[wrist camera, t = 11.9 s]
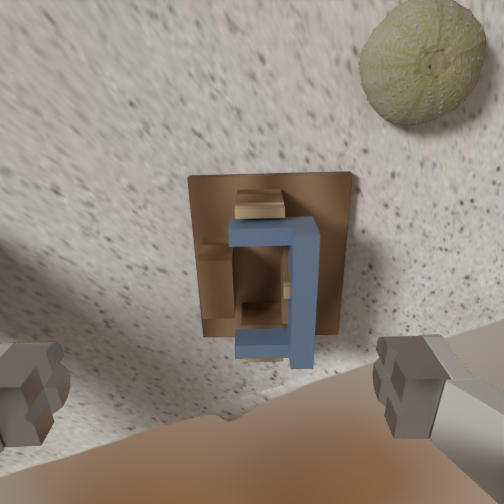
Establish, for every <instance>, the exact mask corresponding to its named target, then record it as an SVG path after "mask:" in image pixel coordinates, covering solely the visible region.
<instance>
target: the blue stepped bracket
mask: <svg viewBox="0 0 504 504" xmlns="http://www.w3.org/2000/svg"><path fill="white" fill-rule="evenodd" d="M228 237H229V247H241V246H284V245H289V248H288V271H289V277H290V299H288V310H287V328H271V329H236V335H235V358H236V359H250V358H289V360H290V368H291V369H313V360H314V342H315V324H316V306H317V288H318V269H319V251H320V233H319V230H318V228H317V225H316V223H315V220H314V218H313V216H303V217H285V218H251V219H235V218H230V220H229V227H228Z"/></svg>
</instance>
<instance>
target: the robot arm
mask: <svg viewBox="0 0 504 504" xmlns="http://www.w3.org/2000/svg"><path fill="white" fill-rule="evenodd" d="M376 351H377V353H378V355H379V357H380V358H379V359H378V360H377V361H376V362H375V363H374V366H373V385H374V390H375V393H376V396H377V398H378V401H379V402H381V403H382V404H383V405H384V406H386V408H385V414H384V416H385V418H386V421H387V423H388V426H389V428H390V430H391V433H392V435H393V438H408V439H409V438H410V439H412V438H413V439H418V438H419V439H430V441H431V442H432V443H433V444H434V445H435V446H436V447H437V448H438V449H440V450H441V451H442V452H443V453H444V454H445V455H446V456H447V457H448V458H449V459H450V460H451V461H453V462H454V463H455V464H456V465H457V466H458V467H459V468H460V469H461V470H462V471H463V472H464V473H466V474H467V475H468V476H469V477H470V478H471V479H472V480H473V481H474V482H475V483H476V484H478V485H479V486H480V487H481V488H482V489H483V490H484V491H485V492H486V493H487V494H488V495H490V496H491V497H492V498H493V499H494V500H495V501H496V502H497V503H498V504H504V392H503V391H502V390H500V389H498V388H497V387H495V386H493V385H491V384H489V383H487V382H486V381H484V380H482V379H475V378H474V377H473V375H472V374H471V373H470V372H469V370H468V369H467V368H466V366H464V364H463V362H462V361H461V360H460V358H459V357H458V356H457V355H456V353H455V352H454V351H453V349H452V348H451V347H450V345H449V344H448V343H447V341H446V340H445V339H444V338H443V337H442V336H441V335H439V334H435V335H419V336H391V337H379V339H378V341H377V346H376ZM63 356H64V353H63V350H62V347H61V345H60V344H58V343H56V342H17V343H15V342H0V453H1V452H2V451H3V450H4V447H22V446H41V445H42V443H43V441H44V440H45V438H46V436H47V434H48V432H49V431H50V429H51V427H52V425H53V423H54V419H53V416H52V414H54V413H55V412H56V411H58V410H59V409H60V408H62V407H63V405H64V403H65V401H66V399H67V398H68V393H69V389H70V375H69V371H68V369H67V368H66V367H65V366H64V365H63V364H62V363H60V361H61V360H62V358H63Z"/></svg>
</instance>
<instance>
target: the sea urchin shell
mask: <svg viewBox="0 0 504 504" xmlns="http://www.w3.org/2000/svg"><path fill="white" fill-rule="evenodd" d="M485 45H486V36H485V33H484V30H483V26H482V25H481V24H480V23H479V21H478V20H477V19H476V18H475V17H474V15H473V14H472V12H471V11H470V9H466V8H465V7H463V6H461V5H460V4H458V3H457V2H456V1H454V0H408V1H406V2H404V3H403V4H401V5H400V6H398V7H397V8H395V9H393V10H392V11H391V13H390V14H389V15H388V16H387V17H386V18H385V19H384V20H383V21H382V22H381V23H380V24H379V25H378V26H377V27H376V28H375V29H374V30H373V33H372V34H371V36H370V37H369V39H368V41H367V43H366V44H365V46H364V47H363V49H362V53H361V57H360V61H359V69H360V74H361V85H362V86H363V89H364V91H365V93H366V95H367V100H368V101H369V104H370V105H371V106H372V107H373V108H374V110H375V111H376V112H377V113H378V114H379V115H380V116H381V117H382V118H384V119H385V120H387V121H389V122H393V123H398V124H413V125H414V124H416V123H420V122H424V121H427V120H432V119H436V118H438V117H439V116H442V115H443V114H445V113H447V112H450V111H451V110H455V109H456V108H457V107H458V106H459V105H460V104H461V103H462V102H463V101H465V100H466V98H467V96H468V95H469V93H470V92H471V90H472V89H473V87H474V86H475V85H476V84H477V82H478V77H479V74H480V71H481V68H482V65H483V61H484V59H485V57H484V52H485Z"/></svg>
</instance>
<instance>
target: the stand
mask: <svg viewBox="0 0 504 504" xmlns="http://www.w3.org/2000/svg"><path fill="white" fill-rule="evenodd" d="M187 179H188V189H189V199H190V209H191V219H192V228H193V238H194V248H195V258H196V268H197V278H198V288H199V298H200V308H201V318H202V328H203V337H235V335H236V329H271V328H287V310H288V299H290V277H289V271H288V248H289V245H284V246H241V247H229V237H228V227H229V220H230V218H235V219H251V218H285V217H303V216H313V218H314V220H315V223H316V225H317V228H318V230H319V233H320V251H319V269H318V288H317V306H316V324H315V335H337V334H338V330H339V319H340V307H341V296H342V285H343V273H344V262H345V251H346V239H347V228H348V216H349V205H350V194H351V182H352V173H351V172H350V171H348V172H309V173H270V174H231V175H192V176H189V177H188V178H187ZM275 361H283V358H250V359H242V362H275Z"/></svg>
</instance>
